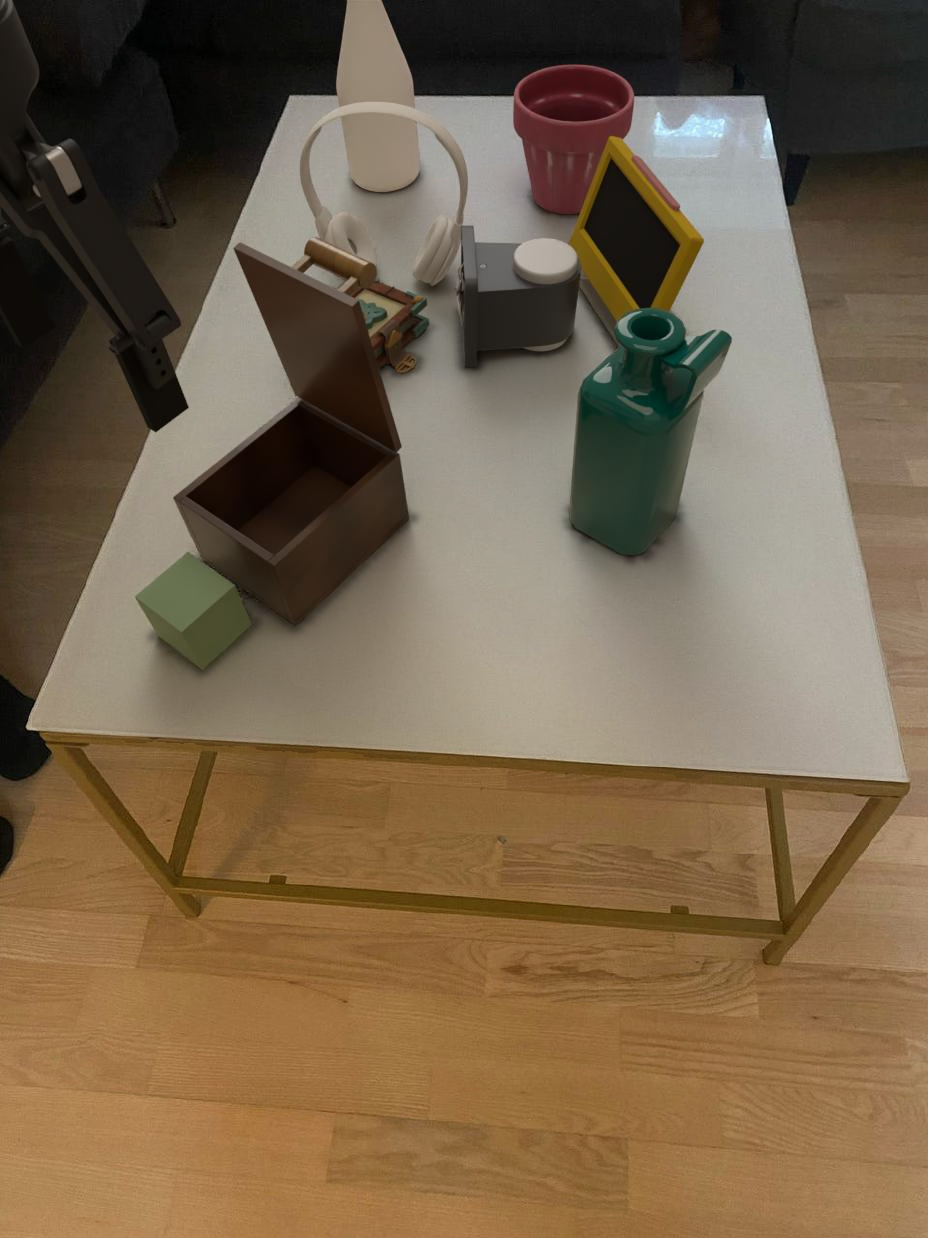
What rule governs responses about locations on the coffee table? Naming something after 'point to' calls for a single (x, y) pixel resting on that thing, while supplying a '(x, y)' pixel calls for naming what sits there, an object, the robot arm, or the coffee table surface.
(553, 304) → the light fixture
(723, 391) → the coffee table surface
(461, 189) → the headphones
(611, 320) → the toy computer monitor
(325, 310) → the bin lid
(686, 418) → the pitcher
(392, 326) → the decorative book
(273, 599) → the bin
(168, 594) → the block
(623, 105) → the flower pot
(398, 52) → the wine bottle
